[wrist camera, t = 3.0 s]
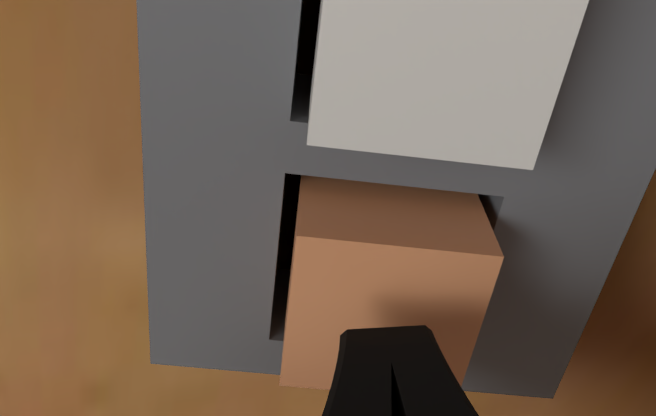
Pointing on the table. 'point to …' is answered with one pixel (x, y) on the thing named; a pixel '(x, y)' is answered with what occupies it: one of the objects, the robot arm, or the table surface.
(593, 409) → the table surface
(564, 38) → the grey button
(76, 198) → the table surface
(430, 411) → the robot arm
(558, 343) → the switch panel
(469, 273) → the orange button
